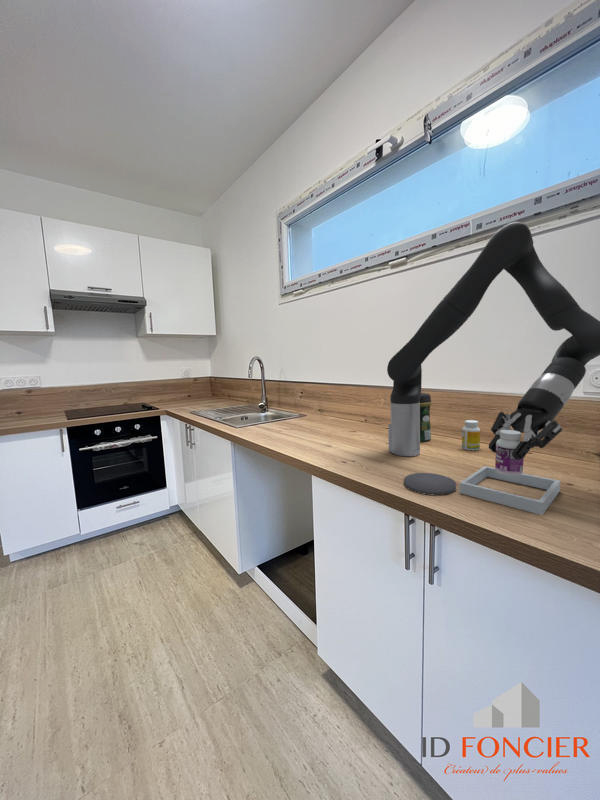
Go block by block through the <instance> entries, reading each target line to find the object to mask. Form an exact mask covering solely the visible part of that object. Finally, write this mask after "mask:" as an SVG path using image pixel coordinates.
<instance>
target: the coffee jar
mask: <svg viewBox="0 0 600 800" xmlns="http://www.w3.org/2000/svg"><path fill="white" fill-rule="evenodd" d="M431 405H432V397H431V394H429V393H426V392H421V394H420V442H424V443H425V442H428V441H430V440H431V439H432V433H431V432H432V430H431V418H430V417H431V416H430V413H431V412H430V411H431Z"/></svg>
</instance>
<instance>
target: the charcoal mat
mask: <svg viewBox="0 0 600 800" xmlns="http://www.w3.org/2000/svg"><path fill="white" fill-rule="evenodd" d="M403 485H404V487H405V488H406V489H408V488H409V489H408V490H410V489H411V490H410V491H412V490H413V492H414V491H416V492H415V493H417V492H420V493H419V494H421V493H425V494H424V495H427V494H434V495H433V496H442V495H441V494H446V495H450V494H453V493H454V492H456V490H457V483H456V481H455V480H454V479H453V478H451V477H449V476H446V475H443V474H438V473H431V472H430V473H429V472H417V473H411V474H408V475H406V476H404V478H403Z"/></svg>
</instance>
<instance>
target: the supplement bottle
mask: <svg viewBox="0 0 600 800" xmlns="http://www.w3.org/2000/svg"><path fill="white" fill-rule="evenodd" d="M478 426H479V421H477V420H475V419H474V420H473V419H469V420H468V419H467V420H464V426H463V427H462V429H461V449H463V450H465V451H471V450H472V451H473V452H474V450H476V451H479V450H480V447H481V446H480V445H481V429H480V427H478Z"/></svg>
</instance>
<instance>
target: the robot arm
mask: <svg viewBox="0 0 600 800" xmlns="http://www.w3.org/2000/svg"><path fill="white" fill-rule="evenodd" d="M504 270H505V272H506V273H508V274H509V275H510V276H511V277H512V278H513V279H514V280H515V281H516V282H517V283H518V284H519V285H520V287H521V288H522V289H523V291H524V293H525V294H526V296H527V297H528V299H529V300H530V302H531V305H533V307H534V308H535V310H536V311H537V312H538V314H539V316H540V317H541V318H542V319H543V321H544V322H545V324H546V325H547V326H548V328H549V329H551V331H554V332H555V331H556V332H557V331H561V330H564V329H565V331H567V332H568V333H569V334H571V336H569V337H568V338H566V339H565V340H563V342H562V343H561V344H560V345H559V347H558V348H557V349H556V351H555V353H554V355H553V357H552V359H551V362H550V363H549V364H548V366H547V367H546V368H545V370H544V371H543V372H542V373H541V375H540V376H539V377H538V378H537V379H536V380H535V381H534V382H533V383H532V385H531V386H530V387H529V388H528V389H527V391H526V392H525V394H524V395H523V396H522V398H521V399H520V400H519V402H518V403H517V408H516V409H515V410H514V411H513V412H511V413H509V414H508V413H507V414H505V412H504V411H501V412H500V411H499V413H498V414H497V416H496V419H495V421H494V422H493V424H492V426H491V427H490V431H491V433H493V435H494V436H493V438H492V439H491V441H490V442H489V444H488V450H490V451H491V452H492V453H495V454H496V442H497V440H499V439H501V438H500V431H501V430H514V431H519V432H521V434H524V435H523V439H522V440H520V441H521V442H520V443H519V445H518V446H517V447H516V449H515V450H514V451H513V453H512V456H513V457H514V458H515V459H517V460H521V458H524V459H525V457H526V456H527V454H528V453H529V452H530V450H531V449H534V448H535V447H538V448H539V449H543V448H544V447H546V446H547V445H548V444H549V443H550V442H551V441H552V440H553V439H555V437H557V436H558V435H559V434H560V433H561V432H562V431H563V428H562V426H561V425H560V424H559V423H558V421H556V420H555V419H556V417H557V416H558V415H559V413H560V412H561V411H562V410H563V408H564V406H565V405H566V404H567V403H568V401H569V400H570V398H571V397H572V395H573V393H574V391H575V389H576V388H577V387H578V385H579V384H580V383H581V381H582V380H583V379H584V377H585V375H586V372H587V369H586V365H587V364H588V363H589V362H590V361H592V360H593V359H595V358H597V357H599V356H600V320H599V319H597V318H596V317H595V316H593V315H591V314H590V313H589V312H587V311H585V310H584V309H582V307H581V306H580V305H579V304H578V302H577V301H576V300H575V298H574V297H573V296H572V295H571V293H570V291H568V289H567V288H565V286H564V285H563V284H562V283H560V282H559V280H557V278H555V277H554V276H553V275H552V273H550V272H549V271H548V270H547V268H546V267H545V266H544V264H543V262H541V260H540V258H539V255H538V253H537V251H536V249H535V246H534V239H533V235H532V232H531V229H530V228H529V226H528V225H527V224H526V223H524V222H520V221H514V222H510V223H508V224H505V225H503V226H502V227H501V228H499V229H497V231H496V232H495V233H494V234H492V236H491V237H490V239H489V240H488V242H487V243H486V245H485V246H484V248H483V249H482V250H481V252H480V253H479V254H478V255H477V258H476V259H475V261H474V262H473V263H472V264H471V265H470V267H469V268H468V269H467V271H466V272H465V273H464V274H463V275H462V276H461V278H460V279H459V280H458V281H457V282H456V283H455V284H454V286H453V287H452V288H451V289H450V291H448V293H447V294H446V295H445V296H444V297H443V298H442V299H441V300H440V302H439V303H438V304H437V305H436V306H435V308H434V309H433V310H432V312H431V313H430V314H429V315H428V317H426V319H425V320H424V321H423V323H422V324H421V325H420V327H419V328H418V329H417V331H416V332H415V334H414V335H413V336H412V337H411V338H410V339H409V341H408V342H406V343H405V345H403V347H401V349H400V350H399V351H397V352H396V353H395V354H394V355H393V356H392V357H391V358H390V359H389V361H388V363H387V365H386V366H387V369H386V371H387V375H388V377H389V378H390V379H391V380H392V381H393V384H392V386H393V387H392V391H391V393H390V397H389V398H390V424H388V427H387V429H388V431H387V432H388V435H387V436H388V453H391V454H393V455H395V456H400V457H415V456H418V455H420V454H421V441H420V394H421V393H422V380H423V379H422V376H423V375H422V372H423V370H422V369H423V368H422V364H423V363H424V362H425V360H426V359H427V358H428V357H429V355H430V354H431V353H432V352H434V351H435V349H437V348H438V347H440V346H441V345H442V344H443V343H444V342H446V341H447V340H448V339H449V338H451V337H452V336H453V335H454V334H455V333H456V332H458V330H459V329H460V328H461V327H463V325H465V323H466V322H467V321H468V320H469V318H470V317H471V316H472V315H473V314H474V312H475V311H476V309H477V308H478V306H479V304H480V303H481V301H482V299H483V297H484V295H485V293H486V292H487V290H488V288H489V287H490V286H491V284H492V282H493V281H495V279H496V278H497V277H498V276H499V275H500V274H501V273H502V271H504ZM511 427H512V428H511Z"/></svg>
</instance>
